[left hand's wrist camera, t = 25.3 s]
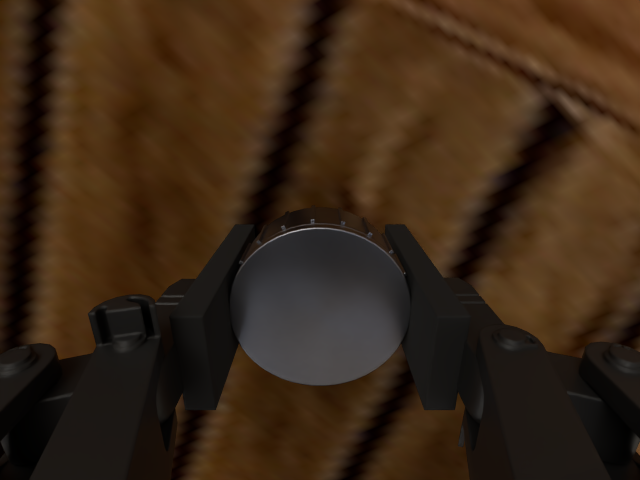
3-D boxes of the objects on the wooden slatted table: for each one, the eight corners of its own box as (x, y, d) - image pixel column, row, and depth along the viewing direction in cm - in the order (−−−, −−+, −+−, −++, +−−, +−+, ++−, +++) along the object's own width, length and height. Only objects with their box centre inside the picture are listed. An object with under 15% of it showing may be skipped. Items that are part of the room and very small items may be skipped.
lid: (241, 340, 13) (227, 382, 11) (241, 198, 11) (224, 217, 9) (386, 350, 13) (397, 392, 11) (411, 211, 11) (429, 233, 9)
